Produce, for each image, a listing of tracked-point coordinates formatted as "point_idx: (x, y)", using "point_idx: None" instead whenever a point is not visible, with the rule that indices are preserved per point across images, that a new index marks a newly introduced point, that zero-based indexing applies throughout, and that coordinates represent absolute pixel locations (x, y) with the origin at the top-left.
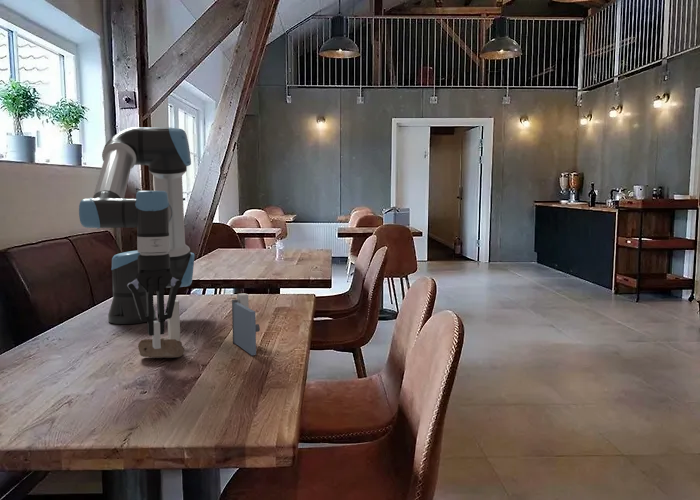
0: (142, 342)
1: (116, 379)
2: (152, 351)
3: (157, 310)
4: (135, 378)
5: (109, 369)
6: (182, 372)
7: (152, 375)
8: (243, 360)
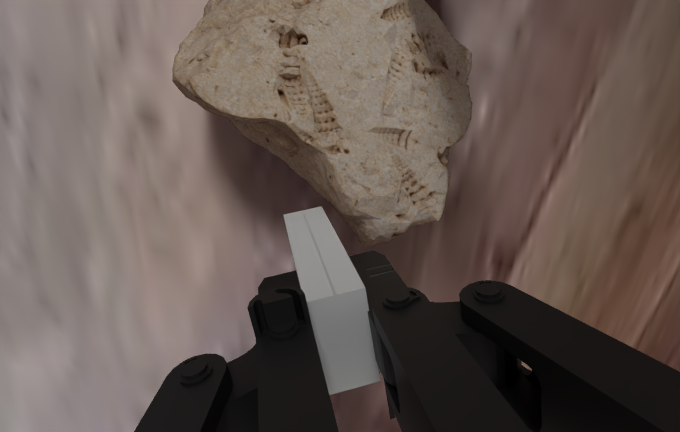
0: (205, 107)
1: (114, 372)
2: (277, 150)
3: (401, 370)
4: None
5: (34, 207)
6: None
7: None
8: (661, 239)
